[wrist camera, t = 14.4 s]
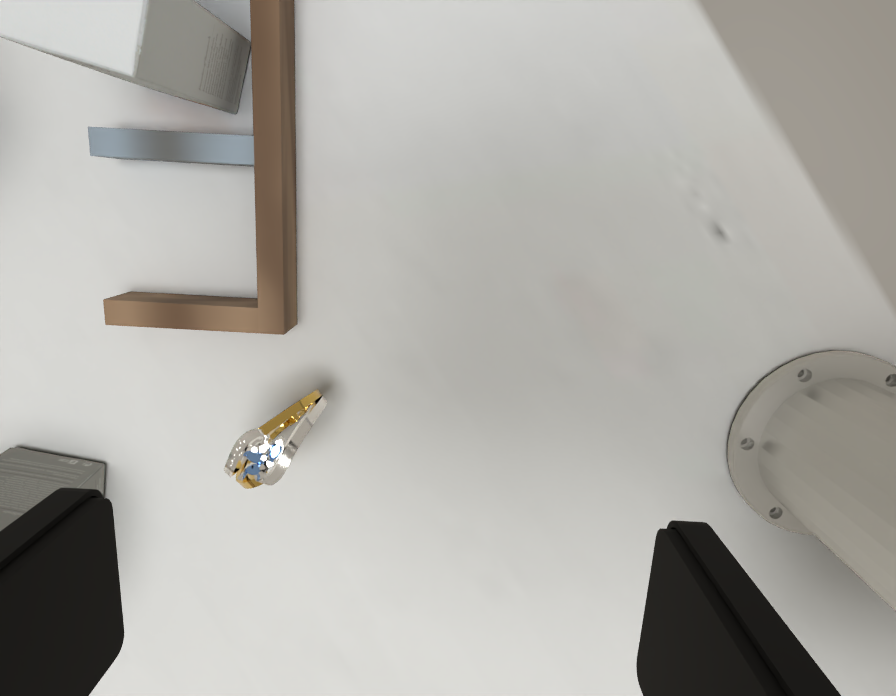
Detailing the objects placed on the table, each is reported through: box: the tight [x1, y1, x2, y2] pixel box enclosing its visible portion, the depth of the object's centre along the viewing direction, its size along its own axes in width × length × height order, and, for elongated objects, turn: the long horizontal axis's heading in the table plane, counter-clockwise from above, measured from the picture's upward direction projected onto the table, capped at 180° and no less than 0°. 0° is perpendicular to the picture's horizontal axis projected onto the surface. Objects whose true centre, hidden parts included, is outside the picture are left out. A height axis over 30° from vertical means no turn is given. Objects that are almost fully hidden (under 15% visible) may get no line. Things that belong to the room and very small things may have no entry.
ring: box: [224, 389, 327, 489], centre depth 36 cm, size 7×3×8 cm, turn 126°
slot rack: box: [88, 0, 297, 335], centre depth 33 cm, size 10×30×3 cm, turn 177°
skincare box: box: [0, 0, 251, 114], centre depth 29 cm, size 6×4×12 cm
